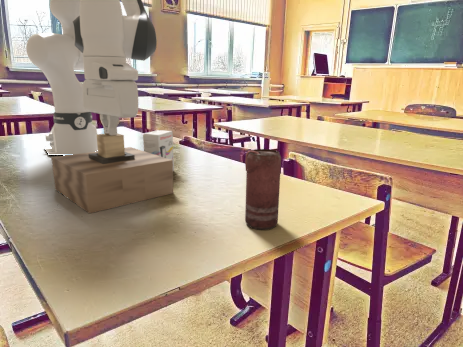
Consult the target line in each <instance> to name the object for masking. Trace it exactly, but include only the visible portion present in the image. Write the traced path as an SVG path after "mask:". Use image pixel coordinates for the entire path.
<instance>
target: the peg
mask: <svg viewBox="0 0 463 347" xmlns="http://www.w3.org/2000/svg"><path fill="white" fill-rule="evenodd" d="M97 146H98V155H99V156H102V157H104V158H109V157H116V156H123V155H125V149H124V148H125V135H124V134H122V133H121V134H120V133H118V132H117V135H113V136H111V135H108V134H105V133H100V134H99V133H97Z"/></svg>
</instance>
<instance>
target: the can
mask: <svg viewBox="0 0 463 347" xmlns="http://www.w3.org/2000/svg"><path fill="white" fill-rule="evenodd" d="M281 163H282V156H281V154H280V151H277V150H276V149H269V148H268V149H267V148H258V149H257V148H255V149H251V150H248V151H247V152H246V153H245V161H244V165H245V171H246V172H245V173H246V176H245V177H246V179H245V183H246V184H245V185H246V186H245V214H244V218H245V219H244V220H245V223H246V226H248V227H249V228H250V229H255V230H261V231H267V230H271V229H273V228H275V227H276V226H277V225H278V221H279V207H280V187H281V186H280V185H281V170H282V168H281V167H282V164H281Z"/></svg>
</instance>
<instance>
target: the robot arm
mask: <svg viewBox="0 0 463 347" xmlns="http://www.w3.org/2000/svg"><path fill="white" fill-rule="evenodd" d="M121 4H122V5H121ZM122 6H123V8H124V11H125V14H126V15H123V10H122ZM49 10H50V12H51V14H52V15H53V17H54V18H56V19H57V20H58V21H59V23H60V25H61V29H62V34H61V33H56V32H55V33H54V32H41V33H40V32H39V33H35V34H32V35H30V36H29V38H28V39H27V42H26V46H25V49H26V54H27V56H28V59H29V60H30V62H31V63H32V64H33V65H35V66H36V67H37V68H38V69H39V70H40V71H41V72H42V73H43V75H44V76H45V78H46V79H47V81H48V83H49V86H50V89H51V94H52V99H53V108H54V112H53V117H52V118H53V123H54V124H53V126H52V127H51V130H50V132H49V133H48V134H45V141H46V142H49V145H50V146H51V147H52V149H46V151H47V152H48V153H49V154H81V153H89V152H95V151H97V150H98V146H97V134H98V130H97V126H95V125H94V124H93V115H92V113H94V114H99V119H100V122H101V124H102V126H103V134H108V135H111V136H113V135H117V133H118V126H119V121H120V118H122V119H128V118H136V117H137V115H138V112H139V88H138V85H137V83H136V81H138V80H139V72H138V70H137V69H136V68H134V67H133V66H132V65H130V64H129V63H128V62H127V59H131V60H134V61H135V60H136V61H146V60H147V59H149V58H151V56H152V55H153V54H154V53H155V52H156V50H157V44H158V43H157V42H158V40H157V39H158V38H157V32H156V29H155V27H154V24H153V22H152V20H151V19H150V17H149V15H148V14H147V11H146V10H147V9H146V8H145V6H144V2H143V0H49ZM75 71H83V75H84V80H83V83H82V82H80V80H79V79H78V77H77V76H76V73H75ZM46 151H45V152H46Z"/></svg>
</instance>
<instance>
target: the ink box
mask: <svg viewBox="0 0 463 347" xmlns="http://www.w3.org/2000/svg"><path fill="white" fill-rule="evenodd" d="M173 135H174V134H173V130H163V129H162V130H161V129H157V130H154V131H149V132H144V133H142V139H143V141H142V143H143V151H145V152H148V153H151V154H154V155H158V156H161V157H164V158H167V159H171V160H173V172H174V171H175V161H174V159H175V158H174V141H173V140H174V136H173Z"/></svg>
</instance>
